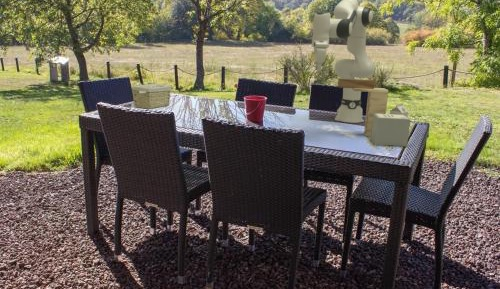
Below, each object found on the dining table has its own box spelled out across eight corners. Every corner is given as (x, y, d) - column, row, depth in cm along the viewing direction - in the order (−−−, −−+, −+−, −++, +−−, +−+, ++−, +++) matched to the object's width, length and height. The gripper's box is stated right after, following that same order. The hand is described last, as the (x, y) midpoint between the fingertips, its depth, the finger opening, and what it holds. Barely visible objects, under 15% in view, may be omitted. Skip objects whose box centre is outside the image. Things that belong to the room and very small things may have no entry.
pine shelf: (348, 132, 265) (352, 86, 259) (379, 133, 264) (384, 88, 258) (350, 135, 256) (354, 88, 250) (383, 137, 256) (388, 90, 249)
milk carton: (386, 137, 256) (390, 103, 251) (393, 135, 261) (397, 102, 256) (398, 140, 251) (402, 105, 246) (405, 138, 256) (409, 104, 251)
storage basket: (154, 103, 337) (154, 82, 334) (172, 105, 330) (172, 84, 326) (131, 107, 317) (131, 85, 313) (150, 110, 309) (149, 88, 306)
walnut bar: (337, 86, 257) (338, 78, 256) (372, 88, 256) (373, 80, 255) (338, 87, 253) (339, 79, 252) (373, 89, 252) (374, 80, 251)
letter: (375, 114, 246) (375, 113, 246) (402, 115, 245) (402, 114, 245) (380, 117, 235) (380, 117, 235) (408, 119, 234) (408, 118, 234)
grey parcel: (370, 139, 250) (373, 113, 246) (401, 141, 249) (404, 115, 245) (375, 144, 238) (378, 118, 235) (407, 146, 237) (410, 119, 234)
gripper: (312, 42, 250) (310, 68, 254) (315, 43, 231) (313, 71, 234) (324, 43, 250) (322, 69, 253) (328, 44, 230) (326, 72, 234)
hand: (318, 70), depth 243 cm, fingers open, 8 cm apart
